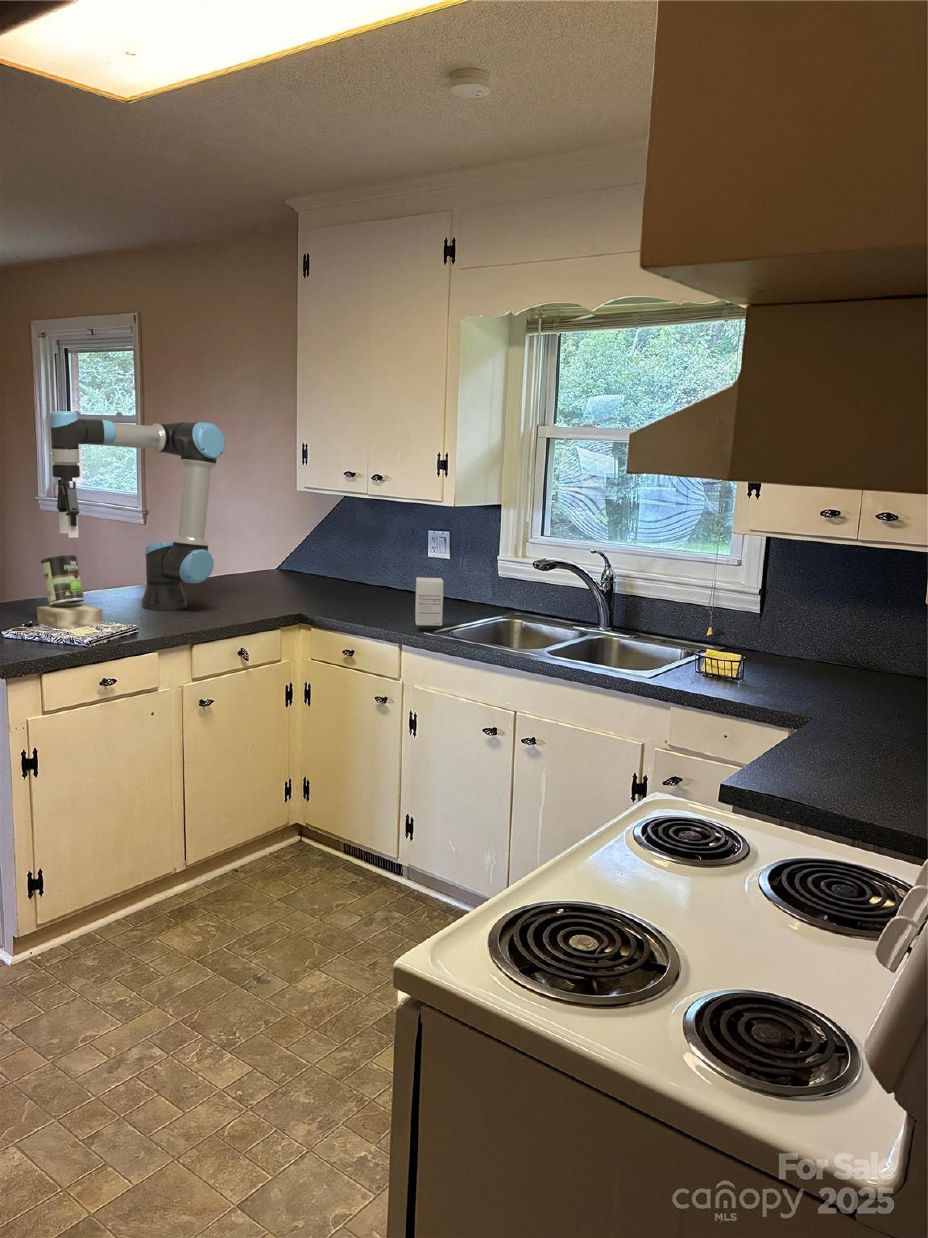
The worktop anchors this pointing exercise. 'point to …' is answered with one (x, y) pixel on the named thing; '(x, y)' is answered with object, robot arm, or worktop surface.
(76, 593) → the coffee can
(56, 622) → the birch block
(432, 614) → the supplement box
